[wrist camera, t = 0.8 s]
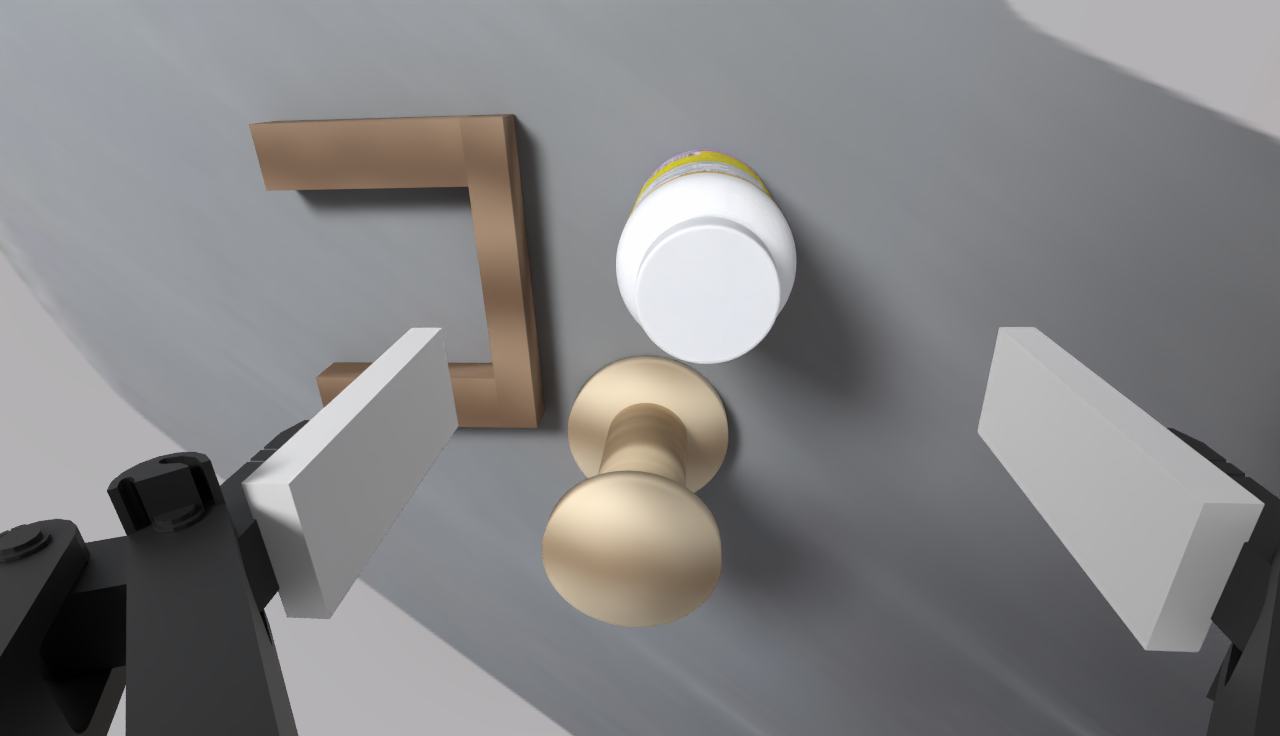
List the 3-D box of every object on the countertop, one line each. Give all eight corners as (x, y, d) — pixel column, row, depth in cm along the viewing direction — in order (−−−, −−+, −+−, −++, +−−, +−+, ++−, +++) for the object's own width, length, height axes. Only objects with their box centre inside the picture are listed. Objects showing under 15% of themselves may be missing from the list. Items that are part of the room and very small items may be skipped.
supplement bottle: (742, 297, 34) (766, 417, 22) (620, 259, 34) (580, 361, 22) (791, 170, 31) (848, 232, 19) (659, 127, 31) (636, 164, 19)
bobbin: (565, 355, 36) (514, 467, 26) (729, 355, 35) (742, 471, 25) (577, 490, 40) (536, 634, 30) (725, 493, 39) (735, 642, 29)
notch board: (274, 121, 32) (248, 124, 30) (513, 114, 31) (502, 117, 29) (345, 408, 39) (328, 425, 37) (544, 410, 38) (537, 427, 36)
